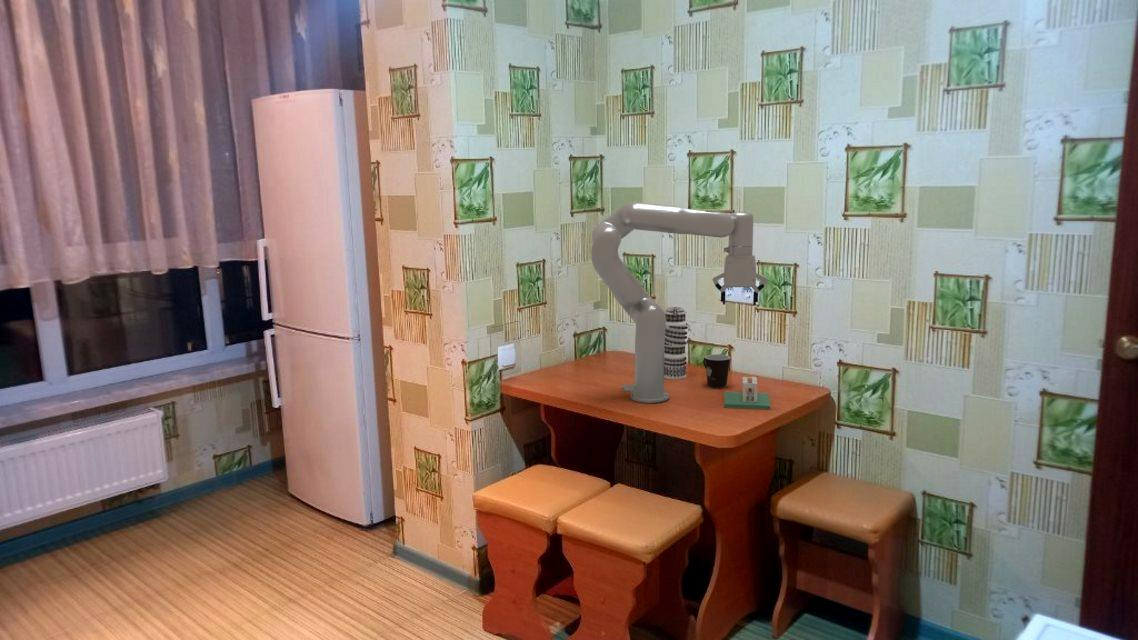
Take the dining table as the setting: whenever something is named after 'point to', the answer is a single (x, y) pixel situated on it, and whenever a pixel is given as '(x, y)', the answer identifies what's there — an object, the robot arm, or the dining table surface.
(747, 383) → the white box
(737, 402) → the board
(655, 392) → the robot arm
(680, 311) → the decorative candle
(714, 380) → the coffee mug
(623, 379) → the dining table surface
